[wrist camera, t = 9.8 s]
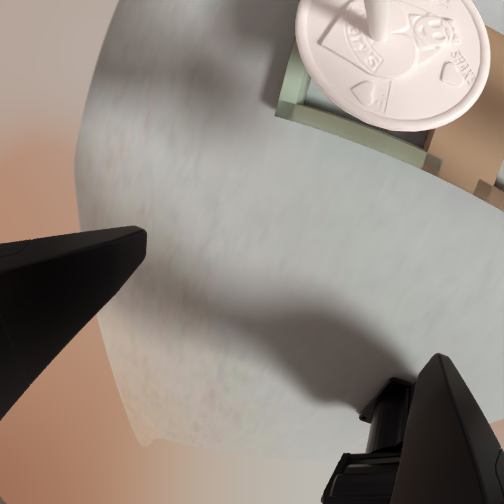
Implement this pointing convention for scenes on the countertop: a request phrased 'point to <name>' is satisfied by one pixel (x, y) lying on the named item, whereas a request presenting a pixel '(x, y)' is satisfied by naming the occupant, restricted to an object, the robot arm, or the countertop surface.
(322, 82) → the smoothie
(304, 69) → the caddy
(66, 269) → the robot arm
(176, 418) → the countertop surface
